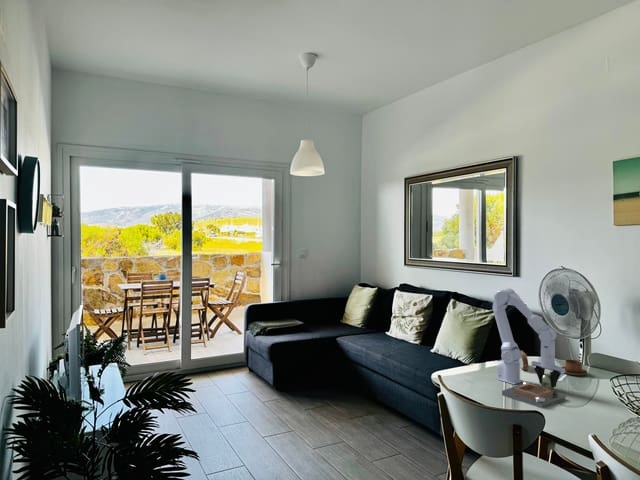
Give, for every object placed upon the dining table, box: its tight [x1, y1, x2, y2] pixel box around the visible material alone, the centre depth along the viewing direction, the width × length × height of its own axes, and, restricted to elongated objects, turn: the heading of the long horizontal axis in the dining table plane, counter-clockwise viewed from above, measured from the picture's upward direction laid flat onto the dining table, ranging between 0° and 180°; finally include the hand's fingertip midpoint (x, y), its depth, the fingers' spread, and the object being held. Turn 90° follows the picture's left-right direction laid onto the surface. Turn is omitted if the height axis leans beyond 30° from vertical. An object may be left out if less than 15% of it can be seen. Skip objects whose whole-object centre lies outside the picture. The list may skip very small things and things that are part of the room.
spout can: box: [541, 372, 555, 392], centre depth 200 cm, size 5×5×8 cm
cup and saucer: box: [560, 359, 588, 377], centre depth 225 cm, size 12×12×6 cm
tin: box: [519, 350, 529, 371], centre depth 234 cm, size 15×3×8 cm, turn 168°
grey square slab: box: [501, 380, 566, 409], centre depth 190 cm, size 18×18×4 cm
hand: (547, 385), depth 200 cm, fingers closed on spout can, 5 cm apart
